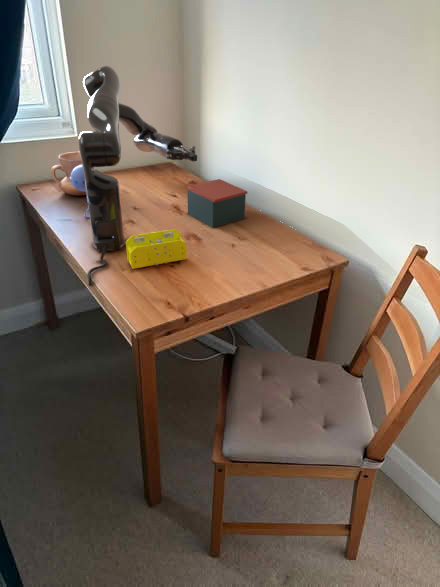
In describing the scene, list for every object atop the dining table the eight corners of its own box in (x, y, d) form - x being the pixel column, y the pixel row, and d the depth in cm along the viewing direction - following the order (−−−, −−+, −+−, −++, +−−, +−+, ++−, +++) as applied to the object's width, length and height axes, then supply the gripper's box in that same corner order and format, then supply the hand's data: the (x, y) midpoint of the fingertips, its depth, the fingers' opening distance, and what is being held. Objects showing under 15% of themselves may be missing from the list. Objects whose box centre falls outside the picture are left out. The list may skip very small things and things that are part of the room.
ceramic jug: (99, 183, 185) (95, 148, 177) (106, 195, 174) (101, 158, 166) (53, 188, 179) (46, 152, 171) (56, 201, 168) (50, 163, 160)
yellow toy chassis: (180, 253, 135) (179, 227, 131) (187, 261, 131) (186, 235, 126) (127, 262, 130) (124, 235, 125) (132, 271, 125) (129, 244, 121)
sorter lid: (247, 193, 153) (247, 191, 153) (214, 202, 146) (214, 199, 145) (219, 181, 163) (219, 178, 163) (187, 189, 156) (187, 186, 155)
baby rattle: (76, 223, 151) (68, 170, 142) (76, 214, 158) (68, 162, 149) (103, 221, 153) (96, 168, 144) (101, 212, 160) (95, 160, 151)
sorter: (244, 218, 159) (245, 193, 154) (212, 227, 151) (213, 201, 146) (218, 205, 168) (219, 181, 163) (187, 213, 161) (187, 189, 156)
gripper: (152, 139, 164) (179, 150, 153) (182, 134, 171) (210, 144, 160) (153, 160, 169) (179, 172, 157) (183, 154, 176) (210, 165, 164)
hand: (195, 158), depth 159 cm, fingers closed
